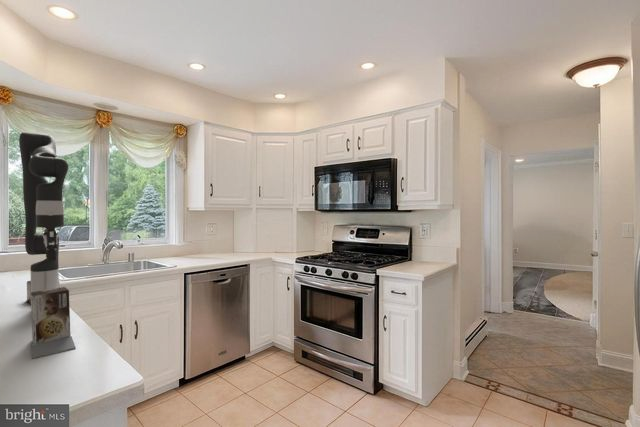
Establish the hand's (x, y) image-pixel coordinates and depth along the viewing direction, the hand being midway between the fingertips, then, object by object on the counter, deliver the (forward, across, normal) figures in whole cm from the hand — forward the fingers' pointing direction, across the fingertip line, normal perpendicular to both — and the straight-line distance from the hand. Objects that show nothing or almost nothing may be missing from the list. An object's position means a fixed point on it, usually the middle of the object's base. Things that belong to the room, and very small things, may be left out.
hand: (50, 259), depth 113 cm
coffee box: (+26, +9, -1) cm, 27 cm away
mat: (+25, +19, -1) cm, 32 cm away
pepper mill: (+27, -52, 0) cm, 59 cm away
